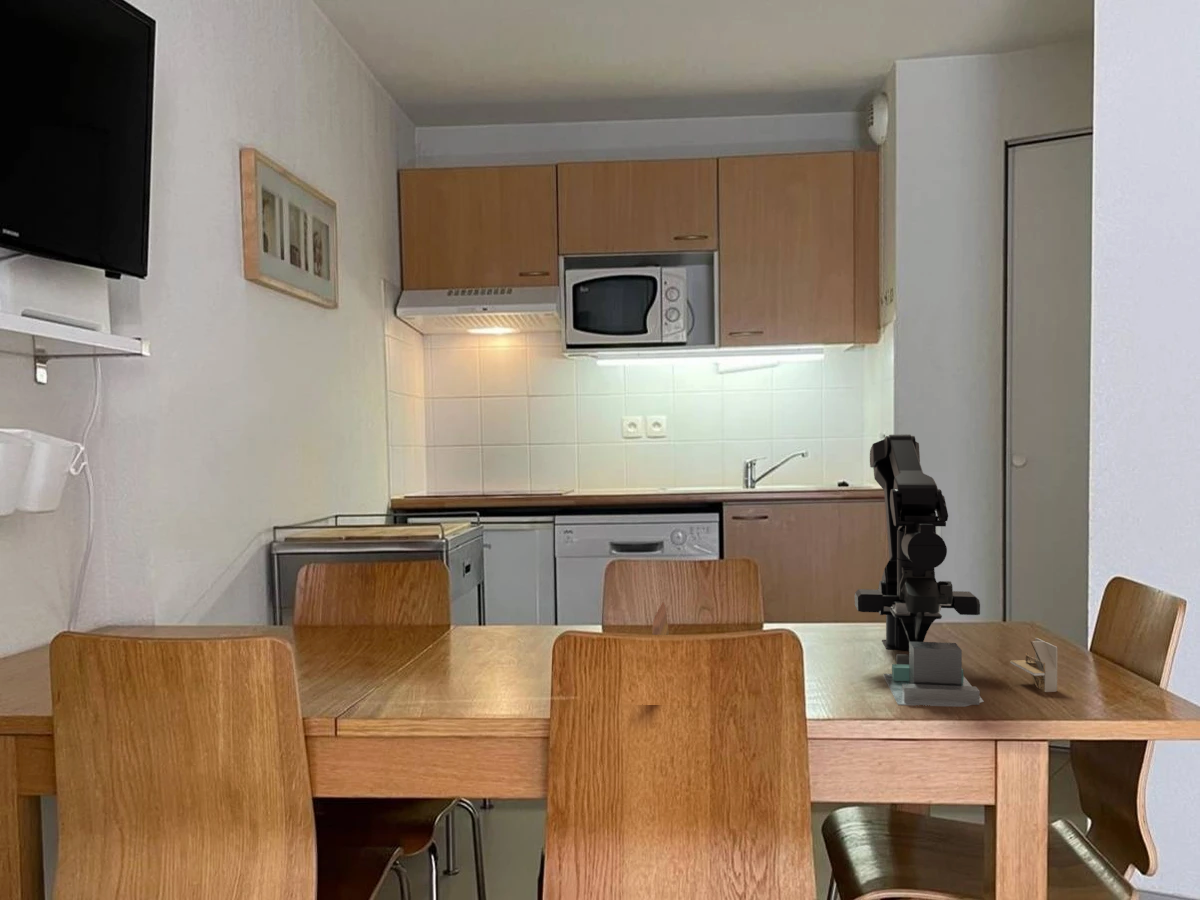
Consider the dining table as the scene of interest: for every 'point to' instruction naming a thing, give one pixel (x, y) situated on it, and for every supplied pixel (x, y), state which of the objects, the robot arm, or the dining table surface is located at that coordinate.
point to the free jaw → (903, 668)
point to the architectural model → (1041, 665)
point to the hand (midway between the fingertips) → (915, 654)
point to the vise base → (933, 693)
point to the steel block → (935, 663)
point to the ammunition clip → (660, 621)
